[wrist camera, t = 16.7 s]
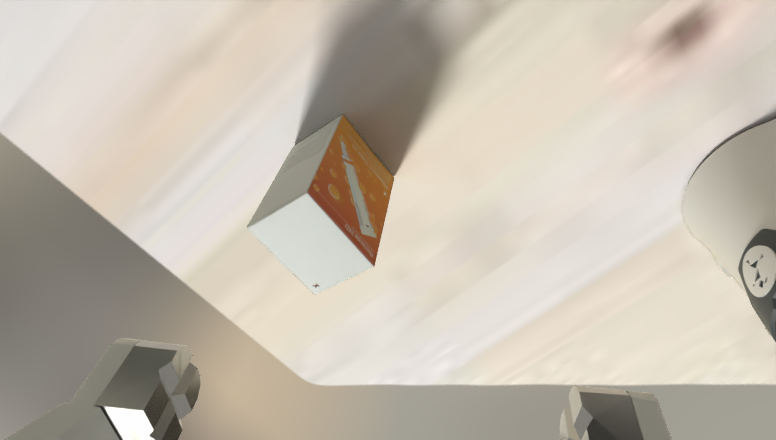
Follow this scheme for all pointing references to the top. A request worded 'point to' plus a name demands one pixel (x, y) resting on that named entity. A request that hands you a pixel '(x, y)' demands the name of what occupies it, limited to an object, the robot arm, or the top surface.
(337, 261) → the small box
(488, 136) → the top surface
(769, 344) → the top surface
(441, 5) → the top surface
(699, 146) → the top surface
